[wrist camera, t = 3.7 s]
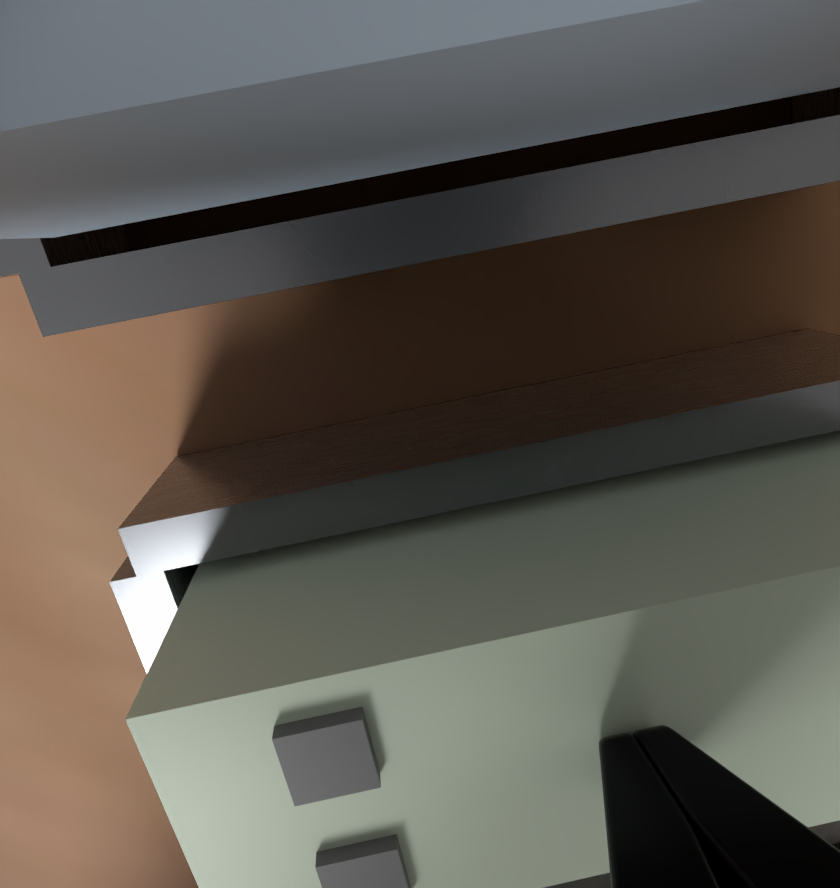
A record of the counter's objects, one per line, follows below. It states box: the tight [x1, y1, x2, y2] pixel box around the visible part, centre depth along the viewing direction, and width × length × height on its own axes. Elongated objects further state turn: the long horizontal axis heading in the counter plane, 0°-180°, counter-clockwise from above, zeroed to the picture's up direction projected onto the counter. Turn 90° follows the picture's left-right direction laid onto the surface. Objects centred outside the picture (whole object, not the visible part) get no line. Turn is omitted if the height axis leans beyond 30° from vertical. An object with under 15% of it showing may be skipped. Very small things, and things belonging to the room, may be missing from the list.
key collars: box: [0, 87, 840, 888], centre depth 12 cm, size 13×24×3 cm, turn 10°
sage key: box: [125, 430, 840, 888], centre depth 10 cm, size 11×4×6 cm, turn 100°
